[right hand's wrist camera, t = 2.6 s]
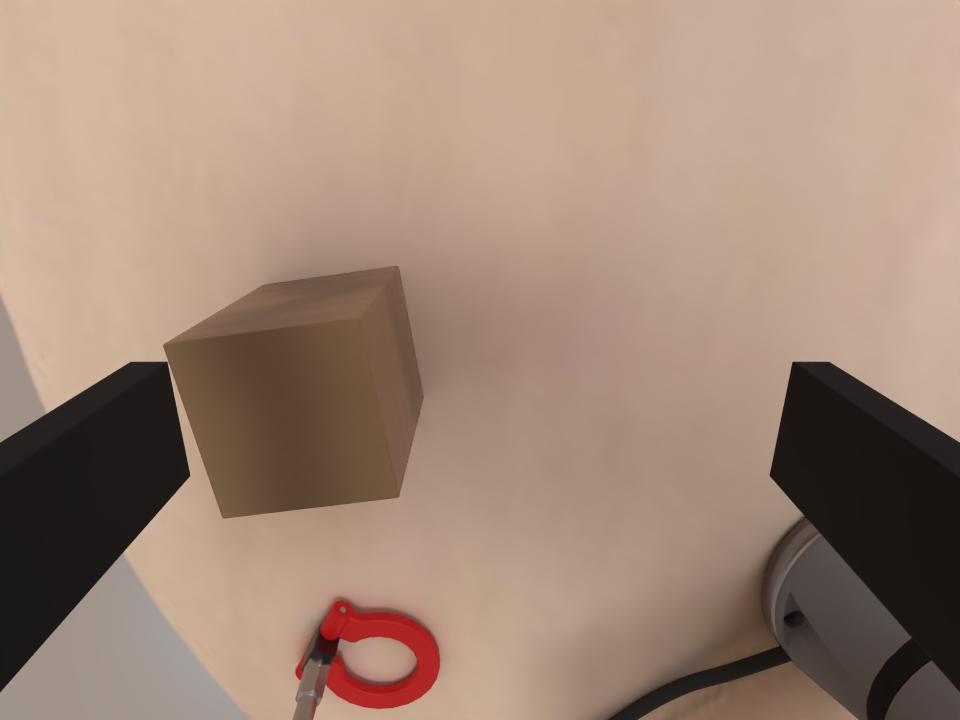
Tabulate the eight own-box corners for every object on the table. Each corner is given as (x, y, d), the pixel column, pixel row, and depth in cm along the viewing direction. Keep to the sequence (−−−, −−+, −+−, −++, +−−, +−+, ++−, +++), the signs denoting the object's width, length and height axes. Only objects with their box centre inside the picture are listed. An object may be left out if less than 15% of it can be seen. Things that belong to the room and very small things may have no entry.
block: (398, 265, 32) (359, 317, 22) (424, 398, 35) (399, 498, 25) (261, 285, 32) (161, 344, 22) (297, 414, 35) (222, 519, 25)
